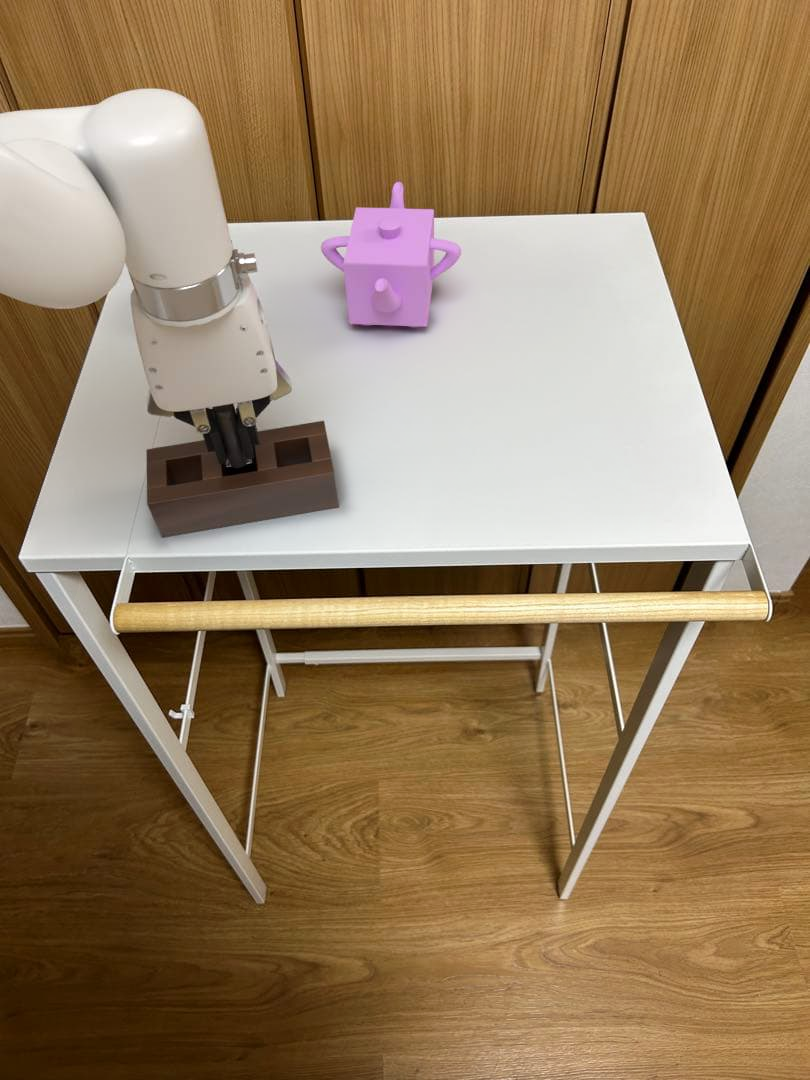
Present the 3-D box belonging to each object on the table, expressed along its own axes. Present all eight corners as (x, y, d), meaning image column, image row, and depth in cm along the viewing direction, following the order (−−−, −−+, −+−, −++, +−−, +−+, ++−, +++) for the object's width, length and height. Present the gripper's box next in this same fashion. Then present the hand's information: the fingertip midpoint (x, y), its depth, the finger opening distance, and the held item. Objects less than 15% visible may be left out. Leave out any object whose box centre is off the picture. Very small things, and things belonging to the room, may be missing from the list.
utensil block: (339, 507, 79) (334, 472, 75) (161, 537, 78) (146, 504, 74) (329, 455, 83) (323, 420, 79) (160, 483, 82) (146, 449, 78)
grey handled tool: (261, 500, 80) (237, 410, 70) (236, 504, 80) (209, 415, 70) (260, 486, 81) (236, 396, 71) (235, 490, 81) (208, 400, 71)
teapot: (479, 316, 95) (483, 231, 86) (383, 365, 91) (377, 281, 82) (402, 253, 103) (399, 170, 94) (310, 295, 98) (298, 212, 90)
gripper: (288, 233, 63) (316, 407, 78) (78, 263, 62) (147, 435, 77) (300, 294, 59) (327, 466, 74) (74, 327, 58) (148, 496, 72)
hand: (235, 449), depth 75 cm, fingers closed on grey handled tool, 1 cm apart
